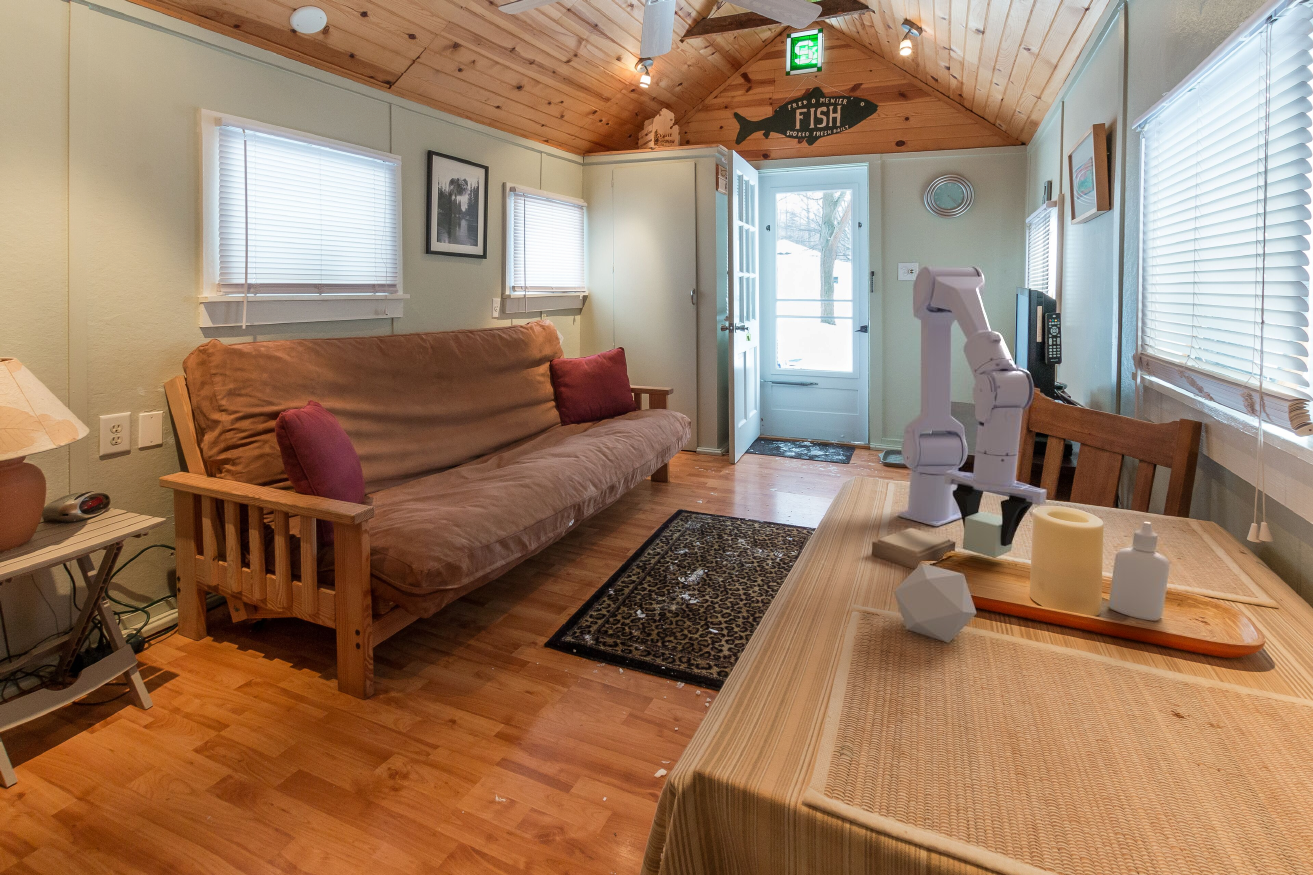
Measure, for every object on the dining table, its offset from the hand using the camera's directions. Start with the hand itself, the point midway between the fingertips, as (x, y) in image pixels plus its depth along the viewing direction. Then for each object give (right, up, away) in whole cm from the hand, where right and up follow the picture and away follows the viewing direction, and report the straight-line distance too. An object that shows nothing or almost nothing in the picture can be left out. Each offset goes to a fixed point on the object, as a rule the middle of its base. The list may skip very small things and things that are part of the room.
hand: (987, 539), depth 108 cm
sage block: (0, -2, 0) cm, 2 cm away
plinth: (-10, -3, +2) cm, 11 cm away
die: (-17, -8, -23) cm, 29 cm away
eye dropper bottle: (+11, -7, -17) cm, 22 cm away
